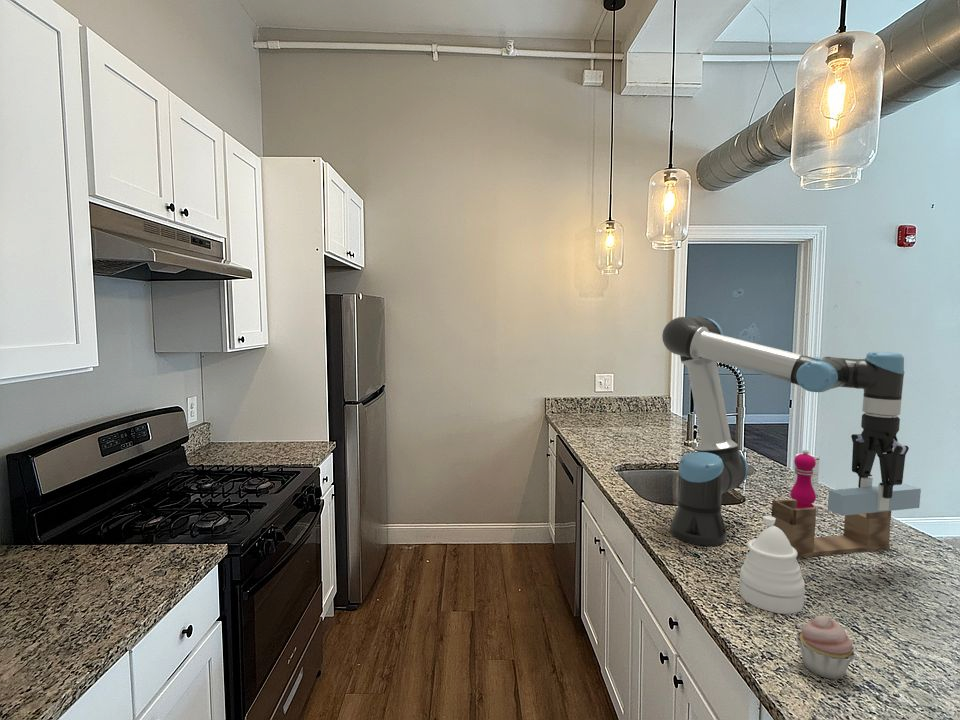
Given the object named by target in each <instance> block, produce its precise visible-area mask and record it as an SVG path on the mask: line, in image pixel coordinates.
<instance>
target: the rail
mask: <svg viewBox="0 0 960 720" xmlns="http://www.w3.org/2000/svg"><path fill="white" fill-rule="evenodd" d="M921 491H922V489H921V487H916V486H914V485H911V484H909V483H908V484H907V483H902V484H901V485H894V486H893V492H892V498H890V499H889V510H882V511H879V510H877V499H878V485H875V486H874V485H872V487H861V488H859V487H853V488H852V487H850V488H840V489H830V490H828V497H827V498H828V499H827V511H830V512H831V513H834V514H836V515H839V516H842V517H843V516H844V517H845V515H855V514H864V513H874V512H884V511H891V512H892V511H901V510H902V511H903V510H912V509H920V504H921Z"/></svg>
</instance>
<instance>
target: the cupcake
mask: <svg viewBox="0 0 960 720" xmlns="http://www.w3.org/2000/svg"><path fill="white" fill-rule="evenodd" d="M796 636H797V637H795V640H796V642H797V645H798V647H799V649H800V653H801V658H802V662H803V665H804V666H805V667H806V669H808V671H810V672H812V673H813V674H815V675H817V676H819V677H822V678H825V679H829V680H839V679H843V677H844V676H845V675H846V672H847V670H848V668H849V666H850V664H851V662H852V661H853V660H854V659H855V658H856V657H857V654H856V653H855V651H856V647H855V646H853V641H852V640H851V638H850V637H849V636H848V634H847V632H846V630H845V629H844V628H843V627H842V626H841V624H839V623H837V622H836V621H835V620H834V619H832V618H831V617H830V616H829V615H818V616H816V617H814V618H812V620H808V621H807V622H806V623H805V624H804V625H803V626H802V628H801V631H800V630H799V631H797V632H796Z"/></svg>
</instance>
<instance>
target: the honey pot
mask: <svg viewBox="0 0 960 720" xmlns="http://www.w3.org/2000/svg"><path fill="white" fill-rule="evenodd" d="M762 519H763V520H762V521H763V523H764V524H765V525H766V528H764V529H763V530H762V531H761V532H760V533H759V535H758V536H757V537H756V538H751V539H749V540H748V541H747V544H746V546H747V548H748V550H749V551H748V553H747V554H746V556H745V559H744V561H743V565H741V568H740V570H739V585H738V586H739V589H738V590H739V591H738V593H739V595H740V596H741V598H742V599H743V600H744V601H746V602H747V603H749V604H750V605H752V606H754V607H755V608H759V609H761V610H763V611H768V612H771V613H776V614H785V615H786V614H787V615H789V614H797V613H799V612H801V611H802V610H803V609H804V604H805V587H806V586H805V585H806V583H805V579H804V578H803V573H802V572H801V566H800V563H798V558H796V557H797V554H798V553H797V551H796V549H794V548H793V547H792V546H791V544H790V542H789V540H788V538H787V537H786V535H785V534H784V533H783V531H782V530H781V529H779V528H778V527H776V526H774V523H775V520H776V518H774V517H772V515H763V516H762Z"/></svg>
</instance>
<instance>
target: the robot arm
mask: <svg viewBox="0 0 960 720" xmlns="http://www.w3.org/2000/svg"><path fill="white" fill-rule="evenodd" d="M661 339H662V343H663V345H664V347H665V348H666V350H668V351H669V352H670V353H672V354H674V355H677V356H679V357H680V362H681V364H682V365H684V366H685V367H687V373H688V378H689V384H690V387H691V393H692V394H691V395H692V400H693V405H694V409H695V410H694V411H695V415H696V421H697V427H698V431H699V432H698V433H699V438H700V444H699V445H698V446H697V449H696V452H689V453H686V454H684V455H683V456H681V458H680V460H679V465H678V481H677V482H678V485H677V486H678V487H677V489H678V491H677V494H678V495H677V507H676V510H675V513H674V515H673V518H672V520H671V523H670V534H671V535H672V536H674V537H675V538H676V539H678V540H680V541H682V542H684V543H688V544H690V545H691V544H693V545H698V546H705V547H707V546H709V547H711V546H712V547H714V546H720V545H722V544H724V543H726V542H727V535H728V533H727V529H726V524H725V522H724V519H723V514H722V495H723V494H724V493H727V492H730V491H732V490H734V489H735V490H736V489H737V488H738V487H740V486H741V484H743V483H744V482H745V481H746V479H747V477H748V474H749V465H748V462H747V460H746V457H745V456H744V455H743V454H742V453H741V452H740V450H739V445H738V443H737V442H735V441H734V440H732V437H731V431H730V426H729V422H728V416H727V410H726V406H725V399H724V395H723V389H722V384H721V379H720V374H719V369H718V363H720V364H724V365H727V366H731V367H734V368H738V369H740V370H741V369H742V370H745V371H749V372H752V373H756V374H758V375H762V376H765V377H769V378H773V379H775V380H778V381H779V380H781V381H783V382H787V383H791V384H794V385H796V386H799V387H801V388H802V389H803V390H805V391H807V392H811V393H825V392H826V391H829V390H831V389H836V388H847V389H849V388H850V389H851V388H852V389H858V390H859V389H860V390H863V397H862V398H863V399H862V409H861V410H862V412H863V414H861V420H860V421H861V425H860V427H861V428H862V431H861V433H855V434H851V437H850V438H851V441H852V458H851V459H852V460H851V471H852V473H856V475H857V476H858V484H857V485H858V487H857V488H861V487H872V486H873V480H874V479H873V478H872V476H873V475H872V474H871V473H872V471H873V470H872V468H873V466H874V462H875V460H876V456H877V457H878V460H879V470H880V478H881V482H879V483H878V485H877V486H878V499H877V510H879V511H882V510H889V499H890V498H892V492H893V486H894V485H901V484H903V479H904V471H905V463H906V456H907V453H908V451H909V446H908V445H903V444H902V443H900V442H899V441H898V440H899V439H898V437H897V434H898V433H899V431H900V425H901V424H900V423H901V418H900V415H901V408H902V398H903V397H902V396H903V387H904V375H905V357H904V356H903V355H902V353H899V352H890V351H889V352H888V351H887V352H885V351H881V352H880V351H870V352H867V354H866V356H865V358H859V359H858V358H847V357H846V358H844V357H835V356H834V357H833V356H815V357H812V356H808V355H803V354H799V353H795V352H791V351H787V350H784V349H780V348H776V347H772V346H768V345H764V344H759V343H755V342H752V341H747V340H744V339H739V338H736V337H731V336H728V335H724V333H723V330H722V328H721V326H720V325H719V323H718V322H716V321H715V320H714V319H711V318H709V317H704V316H699V315H698V316H679V317H676V318H673V319H671V320H670V321H668V323H667V324H666V325H665V326H664V328H663V331H662V338H661Z"/></svg>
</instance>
